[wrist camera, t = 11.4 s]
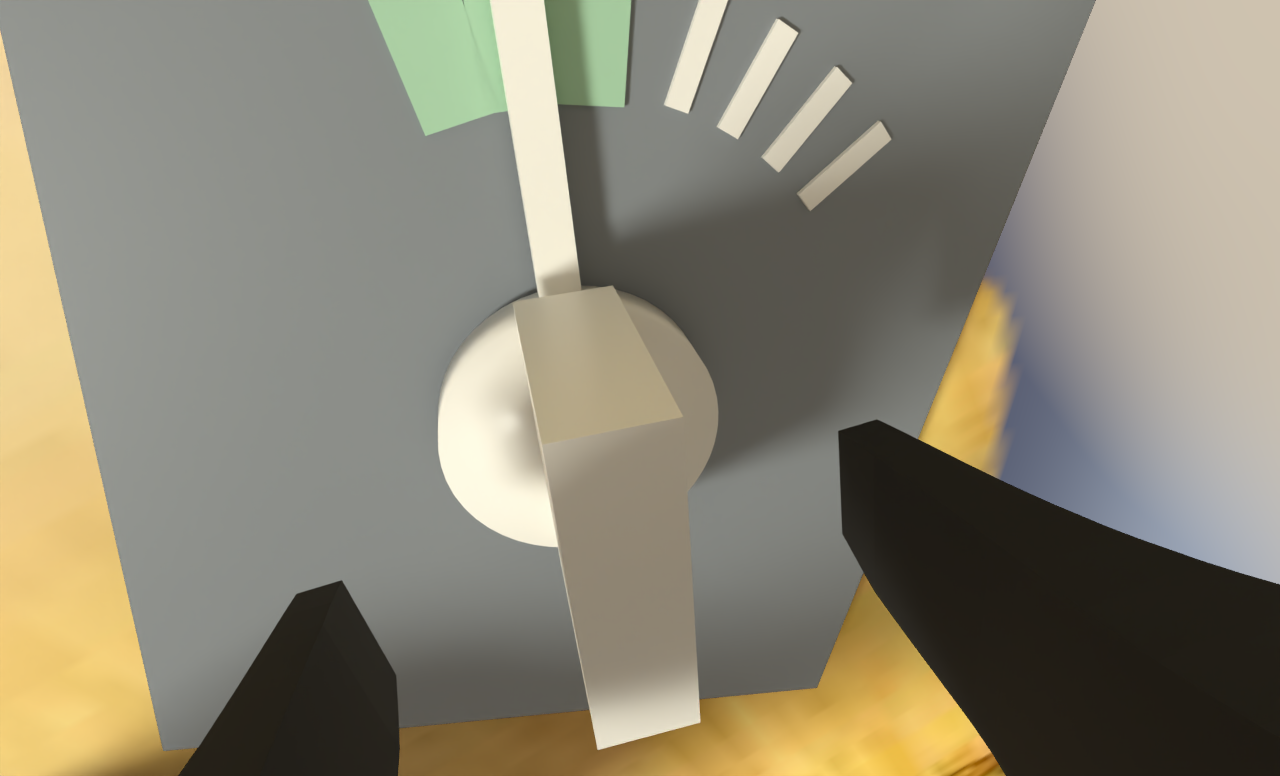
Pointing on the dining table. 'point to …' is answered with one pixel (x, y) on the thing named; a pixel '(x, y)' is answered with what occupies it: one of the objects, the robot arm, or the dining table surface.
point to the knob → (585, 430)
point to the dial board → (501, 296)
